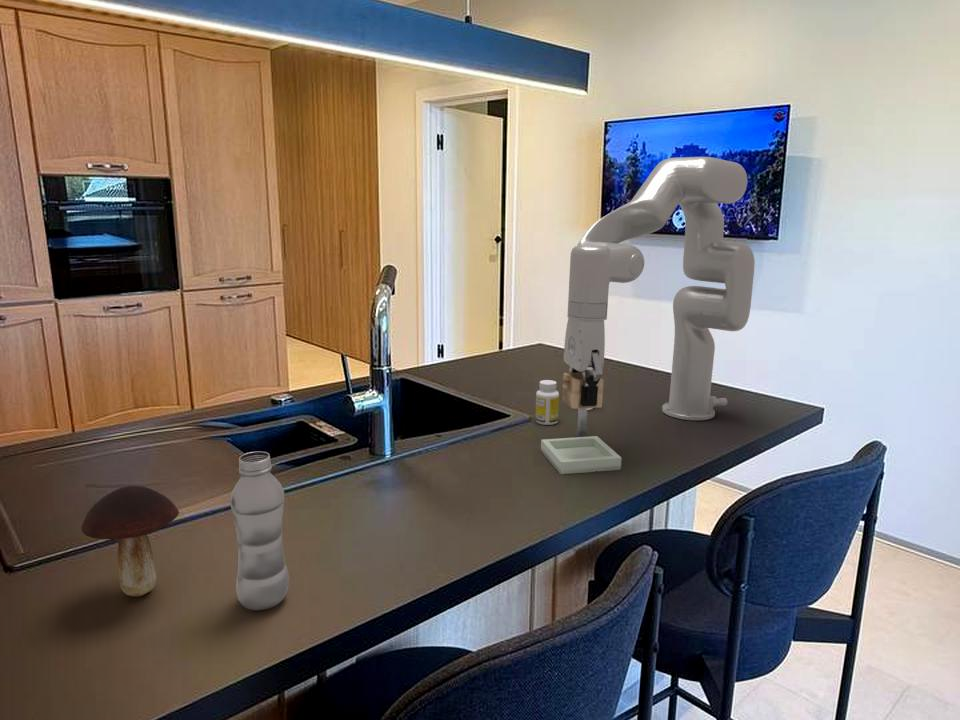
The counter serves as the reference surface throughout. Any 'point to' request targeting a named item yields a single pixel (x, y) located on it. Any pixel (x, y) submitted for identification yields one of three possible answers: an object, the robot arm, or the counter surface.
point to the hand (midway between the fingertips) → (582, 399)
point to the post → (581, 422)
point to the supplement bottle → (547, 403)
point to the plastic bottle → (259, 533)
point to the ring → (578, 390)
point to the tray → (580, 455)
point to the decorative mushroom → (131, 531)
